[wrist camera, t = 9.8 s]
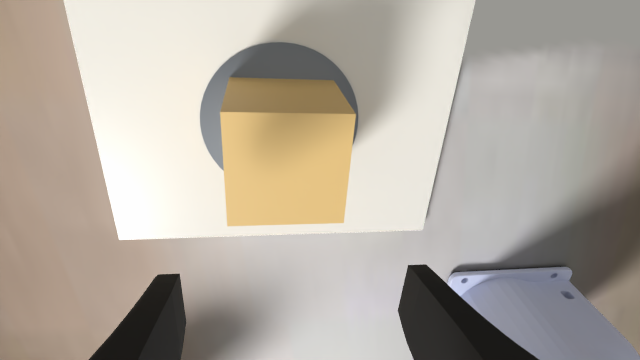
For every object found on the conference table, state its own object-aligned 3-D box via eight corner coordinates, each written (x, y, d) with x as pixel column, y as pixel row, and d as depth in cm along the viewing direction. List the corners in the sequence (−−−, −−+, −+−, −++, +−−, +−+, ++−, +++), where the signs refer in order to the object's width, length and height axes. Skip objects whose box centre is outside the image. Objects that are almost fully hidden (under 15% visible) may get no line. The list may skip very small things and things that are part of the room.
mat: (473, -19, 18) (481, -18, 18) (419, 224, 25) (423, 231, 24) (59, -48, 16) (51, -49, 15) (122, 233, 22) (118, 241, 22)
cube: (333, 80, 19) (355, 113, 15) (326, 170, 21) (343, 222, 17) (229, 77, 18) (219, 111, 14) (233, 171, 21) (227, 226, 16)
